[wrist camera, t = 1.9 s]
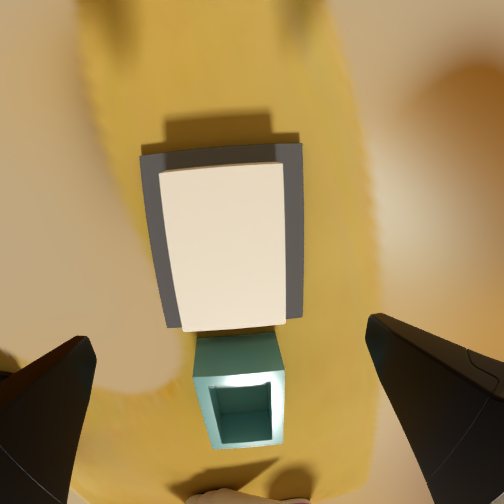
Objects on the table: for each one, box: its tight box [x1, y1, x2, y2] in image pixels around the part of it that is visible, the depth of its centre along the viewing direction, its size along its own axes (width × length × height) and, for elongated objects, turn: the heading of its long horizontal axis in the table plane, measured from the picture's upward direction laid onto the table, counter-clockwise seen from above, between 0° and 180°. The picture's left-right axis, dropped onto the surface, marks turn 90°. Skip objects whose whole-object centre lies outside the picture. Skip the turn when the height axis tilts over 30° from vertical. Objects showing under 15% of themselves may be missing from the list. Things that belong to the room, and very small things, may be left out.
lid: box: [159, 162, 286, 332], centre depth 16 cm, size 6×9×2 cm, turn 3°
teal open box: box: [193, 332, 285, 449], centre depth 19 cm, size 5×8×4 cm, turn 3°
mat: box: [139, 143, 304, 328], centre depth 17 cm, size 9×11×1 cm
